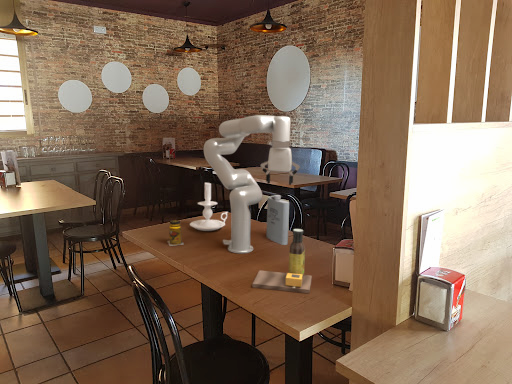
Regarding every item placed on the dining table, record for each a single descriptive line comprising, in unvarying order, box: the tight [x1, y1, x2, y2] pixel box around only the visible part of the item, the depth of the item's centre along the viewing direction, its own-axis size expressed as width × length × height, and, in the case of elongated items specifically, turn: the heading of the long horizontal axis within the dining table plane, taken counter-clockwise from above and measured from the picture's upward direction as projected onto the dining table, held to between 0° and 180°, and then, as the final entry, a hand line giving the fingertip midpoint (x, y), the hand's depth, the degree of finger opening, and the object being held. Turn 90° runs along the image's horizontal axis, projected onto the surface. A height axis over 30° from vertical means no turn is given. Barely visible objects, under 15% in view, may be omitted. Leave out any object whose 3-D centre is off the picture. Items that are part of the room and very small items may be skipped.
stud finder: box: [286, 272, 304, 287], centre depth 151 cm, size 6×5×3 cm
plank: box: [251, 270, 313, 294], centre depth 156 cm, size 22×14×2 cm, turn 79°
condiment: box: [166, 219, 184, 247], centre depth 201 cm, size 7×8×12 cm
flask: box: [265, 194, 290, 246], centre depth 209 cm, size 17×5×25 cm, turn 30°
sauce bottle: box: [288, 228, 306, 278], centre depth 156 cm, size 6×6×20 cm
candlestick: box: [189, 182, 229, 232], centre depth 228 cm, size 21×25×28 cm
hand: (279, 183), depth 173 cm, fingers open, 9 cm apart
